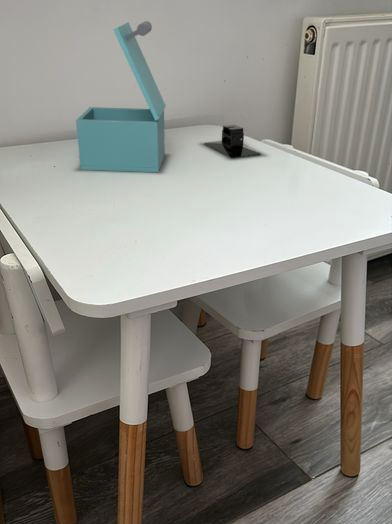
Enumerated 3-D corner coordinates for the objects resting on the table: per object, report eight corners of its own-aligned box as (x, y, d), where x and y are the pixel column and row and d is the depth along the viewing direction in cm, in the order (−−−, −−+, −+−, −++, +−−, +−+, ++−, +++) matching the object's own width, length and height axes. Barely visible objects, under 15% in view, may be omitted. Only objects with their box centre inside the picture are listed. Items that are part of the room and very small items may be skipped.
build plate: (204, 144, 121) (204, 122, 119) (233, 141, 124) (234, 119, 122) (231, 158, 112) (233, 134, 110) (262, 155, 115) (264, 131, 112)
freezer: (80, 169, 104) (75, 120, 99) (93, 153, 114) (89, 107, 109) (158, 172, 104) (157, 122, 99) (164, 155, 113) (164, 109, 108)
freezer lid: (113, 29, 91) (139, 15, 90) (124, 24, 101) (148, 11, 99) (155, 120, 99) (179, 109, 97) (162, 107, 108) (184, 96, 107)
